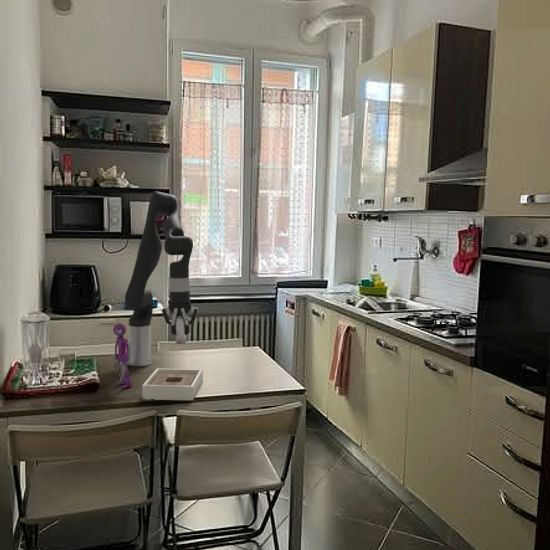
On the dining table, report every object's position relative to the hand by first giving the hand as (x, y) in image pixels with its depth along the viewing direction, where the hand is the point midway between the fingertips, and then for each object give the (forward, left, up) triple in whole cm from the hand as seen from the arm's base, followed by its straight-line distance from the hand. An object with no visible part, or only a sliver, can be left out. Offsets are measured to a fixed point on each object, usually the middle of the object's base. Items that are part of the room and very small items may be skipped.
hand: (180, 334), depth 214 cm
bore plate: (-2, -5, -20) cm, 21 cm away
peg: (0, 0, -3) cm, 3 cm away
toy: (-23, -2, -20) cm, 30 cm away
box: (-2, -5, -20) cm, 21 cm away
